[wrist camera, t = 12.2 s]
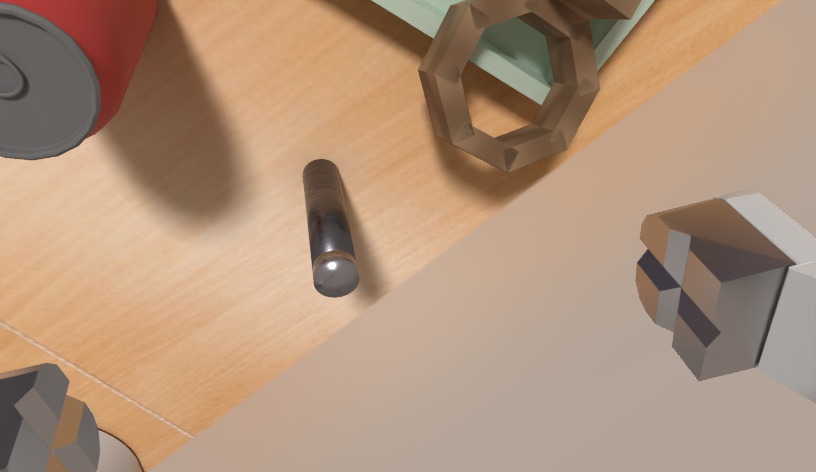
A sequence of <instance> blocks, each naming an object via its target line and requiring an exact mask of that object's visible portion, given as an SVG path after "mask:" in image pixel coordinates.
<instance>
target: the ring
mask: <svg viewBox="0 0 816 472" xmlns="http://www.w3.org/2000/svg"><path fill="white" fill-rule="evenodd" d="M640 2H641V0H465V1H462V2H459V3H455V4H452V5H450V7H449V9H448V11H447V13H446V15H445V17H444V19H443V21H442V23H441V25H440V27H439V29H438V31H437V33H436V35H435V37H434V39H433V41H432V43H431V45H430V47H429V49H428V51H427V53H426V55H425V57H424V59H423V61H422V63H421V65H420V67H419V69H418V72H419V76H420V79H421V83H422V87H423V91H424V94H425V98H426V102H427V106H428V109H429V113H430V117H431V121H432V124H433V128H434V132H435V136H437V137H439V138H441V139H443V140H445V141H447V142H449V143H451V144H453V145H454V146H456V147H458V148H460V149H462V150H464V151H466V152H468V153H470V154H472V155H473V156H475V157H477V158H479V159H481V160H483V161H485V162H487V163H488V164H490V165H492V166H495V167H497V168H499V169H501V170H503V171H505V172H507V173H508V172H511V171H513V170H516V169H519V168H521V167H524V166H526V165H529V164H531V163H534V162H537V161H539V160H542V159H544V158H547V157H549V156H552V155H554V154H557V153H560V152H562V151H565V150H567V148H568V146H569V145H570V143H571V141H572V139H573V137H574V135H575V134H576V132H577V130H578V128H579V126H580V125H581V123H582V121H583V119H584V117H585V115H586V114H587V112H588V110H589V108H590V106H591V104H592V103H593V101H594V99H595V97H596V95H597V93H598V92H599V90H600V85H599V78H598V72H597V65H596V59H595V52H594V46H593V39H592V33H591V26H590V20H589V19H610V20H631V18H632V17H633V15H634V13H635V11H636V9H637V7H638V6H639V4H640ZM515 17H517V18H519V19H520V20H522V21H523V22H525V23H526V24H528V25H529V26H531V27H532V28H534V29H535V30H537V31H538V32H540V33H541V34H543V35H544V36H545V37H546V42H547V48H548V53H549V58H550V64H551V69H552V75H553V80H554V83H553V85H552V87H551V89H550V90H549V92H548V94H547V96H546V98H545V100H544V102H543V104H542V105H541V107H540V109H539V111H538V113H537V115H536V117H535V119H534V120H533V122H532V124H530V125H528V126H525V127H522V128H520V129H517V130H514V131H512V132H509V133H506V134H504V135H501V136H498V137H496V138H493V137H491V136H490V135H488V134H486V133H484V132H482V131H481V130H479V129H477V128H475V127H473V126H472V123H471V118H470V114H469V110H468V106H467V102H466V98H465V94H464V89H463V85H462V81H461V77H460V76H461V74H462V72H463V70H464V68H465V66H466V64H467V62H468V60H469V58H470V56H471V54H472V52H473V50H474V48H475V46H476V44H477V43H478V41H479V39H480V37H481V35H482V33H483V31H484V29H485V27H488V26H491V25H494V24H497V23H500V22H503V21H506V20H509V19H512V18H515Z"/></svg>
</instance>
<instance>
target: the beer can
mask: <svg viewBox="0 0 816 472" xmlns="http://www.w3.org/2000/svg"><path fill="white" fill-rule="evenodd" d="M156 14H157V0H0V156H2V157H5V158H14V159H25V160H38V159H44V158H50V157H56V156H59V155H61V154H63V153H65V152H67V151H69V150H71V149H73V148H75V147H77V146H79V145H80V144H81V143H82V142H83V141H84V139H86V138H88V137H90V136H92V135H94V134H96V133H97V132H98V131H99V130H100V129H102V128H103V127H104V126H105V124H106V123H107V122H108V121H109V120H110V119H111V118H112V117H113V116H114V115H115V114H116V113H117V111H118V110H119V107H120V105H121V102H122V100H123V97H124V95H125V92H126V90H127V87H128V85H129V82H130V80H131V77H132V75H133V72H134V70H135V67H136V65H137V62H138V60H139V57H140V55H141V52H142V50H143V48H144V45H145V43H146V40H147V38H148V35H149V33H150V30H151V27H152V25H153V22H154V19H155V17H156Z"/></svg>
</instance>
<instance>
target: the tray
mask: <svg viewBox="0 0 816 472" xmlns="http://www.w3.org/2000/svg"><path fill="white" fill-rule="evenodd" d="M372 1H373V2H375V3H377V4H378V5H380V6H382V7H383V8H385V9H386V10H388V11H390V12H391V13H393V14H394V15H396V16H398V17H399V18H401V19H403V20H404V21H406V22H407V23H409V24H411V25H412V26H414V27H415V28H417V29H419V30H420V31H422V32H424V33H425V34H427V35H428V36H430V37H432V38H433V39H434V37H435V35H436V33H437V31H438V29H439V27H440V25H441V23H442V21H443V19H444V17H445V15H446V13H447V11H448V9H449V7H450V5H452V4H455V3H459V2H462V1H465V0H372ZM654 1H655V0H641V2H640V4H639V6H638V7H637V9H636V11H635V13H634V15H633V17H632V18H631V20H610V19H589V20H590V26H591V33H592V39H593V46H594V52H595V59H596V65H597V72H598V70H599V69H600V68H601V67H602V65H603V64H604V63H605V62H606V60H607V59H608V58H609V57H610V55H611V54H612V53H613V52H614V50H615V49H616V48H617V47H618V45H619V44H620V43H621V42H622V40H623V39H624V38H625V37H626V35H627V34H628V33H629V32H630V30H631V29H632V28H633V27H634V25H635V24H636V23H637V22H638V21H639V19H640V18H641V17H642V16H643V14H644V13H645V12H646V11H647V9H648V8H649V7H650V6H651V4H652V3H653V2H654ZM469 61H470V62H472V63H474V64H475V65H477V66H478V67H480V68H482V69H483V70H485V71H487V72H488V73H490V74H491V75H493V76H495V77H496V78H498V79H499V80H501V81H503V82H504V83H506V84H508V85H509V86H511V87H512V88H514V89H516V90H517V91H519V92H520V93H522V94H524V95H525V96H527V97H529V98H530V99H532V100H533V101H535V102H537V103H538V104H540V105H542V104H543V102H544V100H545V98H546V96H547V94H548V92H549V90H550V89H551V87H552V85H553V83H554V80H553V75H552V69H551V64H550V58H549V53H548V48H547V42H546V37H545V36H544V35H543V34H541V33H540V32H538V31H537V30H535V29H534V28H532V27H531V26H529V25H528V24H526V23H525V22H523V21H522V20H520V19H519V18H517V17H515V18H512V19H509V20H506V21H503V22H500V23H497V24H494V25H491V26H488V27H485V29H484V31H483V33H482V35H481V37H480V39H479V41H478V43H477V44H476V46H475V48H474V50H473V52H472V54H471V56H470V58H469Z"/></svg>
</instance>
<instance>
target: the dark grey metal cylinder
mask: <svg viewBox="0 0 816 472" xmlns="http://www.w3.org/2000/svg"><path fill="white" fill-rule="evenodd" d="M303 183H304V192H305V202H306V212H307V221H308V231H309V241H310V250H311V260H312V270H313V279H314V286H315V288H316V290H317V291H318V292H319V293H321V294H322V295H324V296H327V297H342V296H345V295H347V294H349V293H351V292H352V291H353V290H354V289H355V288H356V287H357V285H358V282H359V275H358V270H357V264H356V259H355V254H354V249H353V243H352V238H351V233H350V228H349V223H348V217H347V212H346V207H345V202H344V196H343V191H342V186H341V181H340V175H339V171H338V168H337V166H336V165H335V164H334V163H332V162H331V161H329V160H325V159H318V160H314V161H312V162H310V163H309V164H308V165H307V166H306V167H305V169H304V171H303Z"/></svg>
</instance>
